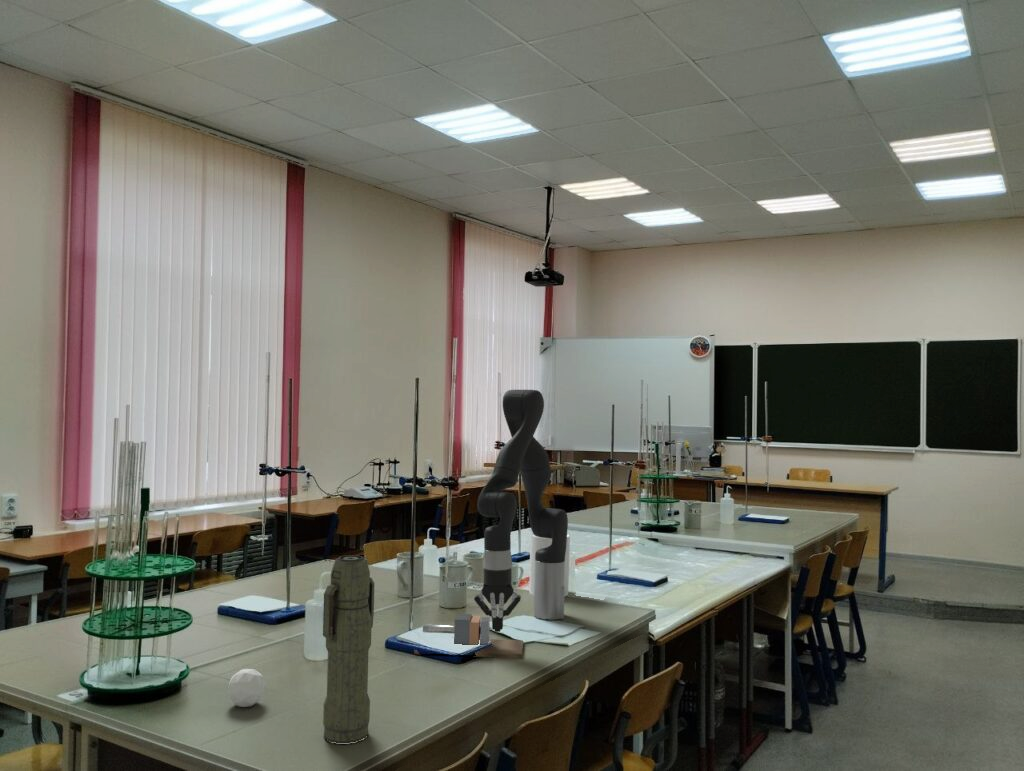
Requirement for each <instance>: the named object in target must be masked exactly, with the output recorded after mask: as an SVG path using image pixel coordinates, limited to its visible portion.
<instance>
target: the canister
mask: <svg viewBox="0 0 1024 771" xmlns="http://www.w3.org/2000/svg"><path fill="white" fill-rule="evenodd" d="M529 541H530V542H529V543H530V544H529V545H530V546H529V548H530V549H529V550H530V551H529V587H528V588H529V590H528V591H529V592H528V593H529V594H530V595H531V596H534V590H535V553H536V551H537V550H539V549H542V548H546V547H549V546H550V545H551V544H552V539H551V538H542V537H537V536H535V535H534V534H533V532H532V533H530V540H529ZM569 576H570V534H568V533H567V542H566V553H565V577H564V588H565V590H564V597H566V596H568V595H569V578H570V577H569Z"/></svg>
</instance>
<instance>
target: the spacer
mask: <svg viewBox="0 0 1024 771" xmlns="http://www.w3.org/2000/svg"><path fill="white" fill-rule="evenodd" d="M481 620H482V617H481V615H472V617H471V620H470V630H469V645H478V644H479V640H480V635H481V634H479V627H481Z"/></svg>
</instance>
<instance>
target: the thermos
mask: <svg viewBox="0 0 1024 771" xmlns="http://www.w3.org/2000/svg"><path fill="white" fill-rule="evenodd" d="M370 574H371V572H370V568H369V563H368V561H367V559H366V558H365V557H363V556H362V555H361V556H360V555H356V554H355V555H342V556H339V557H338V558H335V561H334V563H333V566H332V568H331V572H330V584H329V585H328V586H327V587H326V589H325V591H324V592H323V612H322V613H323V614H322V615H323V616H322V617H323V619H322V620H323V621H322V636H323V637H324V638H325V648H326V651H327V675H326V676H327V679H326V697H325V699H324V702H323V717H322V718H323V719H322V720H323V721H322V723H323V727H324V728H323V729H324V730H323V739H324V738H325V739H326V740H328V741H330V742H336V743H350V742H356V741H359V740H361V739H363V738H365V737H366V736H367V735H368V736H369V723H370V718H371V717H370V715H371V714H370V712H371V711H370V710H371V708H370V707H371V703H370V702H371V700H370V696H369V693H368V685H369V684H368V682H369V681H368V680H369V650H370V648H371V645H372V628H373V627H374V615H375V614H374V613H375V612H374V611H375V610H374V609H375V581H374V580H373V577H370V576H371V575H370ZM325 739H324V740H325ZM326 740H325V741H326Z"/></svg>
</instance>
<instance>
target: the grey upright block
mask: <svg viewBox="0 0 1024 771" xmlns="http://www.w3.org/2000/svg"><path fill="white" fill-rule="evenodd" d="M472 616H473V614H472V613H456V616H455V617H454V625H453V626H454V633H453V635H454V637H453V638H454V644H462V645H469V630H470V620H471V617H472Z"/></svg>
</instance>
